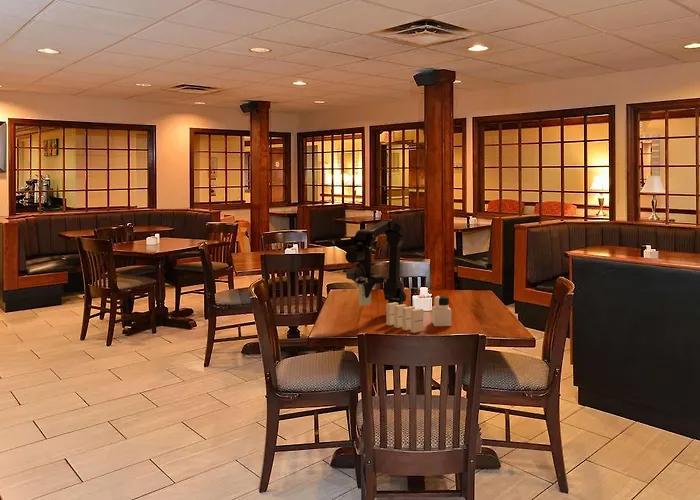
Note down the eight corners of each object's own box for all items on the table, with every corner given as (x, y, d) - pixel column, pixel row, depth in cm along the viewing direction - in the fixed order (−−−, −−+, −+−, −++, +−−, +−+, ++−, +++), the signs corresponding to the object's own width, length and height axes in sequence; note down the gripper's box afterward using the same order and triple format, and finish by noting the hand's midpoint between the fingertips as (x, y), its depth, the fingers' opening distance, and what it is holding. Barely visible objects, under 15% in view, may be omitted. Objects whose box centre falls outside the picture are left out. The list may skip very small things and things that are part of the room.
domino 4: (410, 331, 251) (410, 309, 250) (419, 329, 254) (419, 308, 253) (414, 332, 249) (414, 310, 248) (423, 330, 252) (423, 309, 251)
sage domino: (358, 305, 260) (358, 283, 259) (368, 303, 263) (368, 282, 262) (361, 305, 259) (361, 284, 257) (371, 304, 262) (371, 283, 260)
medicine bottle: (448, 322, 266) (448, 294, 265) (451, 326, 259) (451, 298, 258) (431, 322, 266) (431, 294, 265) (434, 326, 259) (434, 298, 257)
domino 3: (402, 329, 255) (402, 307, 254) (411, 327, 258) (411, 306, 257) (405, 330, 253) (405, 308, 252) (414, 328, 256) (414, 307, 255)
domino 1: (386, 324, 263) (386, 303, 262) (395, 322, 266) (395, 302, 265) (389, 325, 261) (389, 304, 260) (398, 323, 264) (398, 303, 263)
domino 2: (394, 327, 259) (394, 305, 258) (403, 325, 262) (403, 304, 261) (397, 327, 257) (397, 306, 256) (406, 326, 260) (406, 304, 259)
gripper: (336, 259, 261) (336, 296, 263) (363, 265, 246) (363, 303, 248) (356, 257, 268) (357, 293, 270) (385, 262, 253) (385, 300, 255)
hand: (365, 297), depth 261 cm, fingers closed on sage domino, 2 cm apart
